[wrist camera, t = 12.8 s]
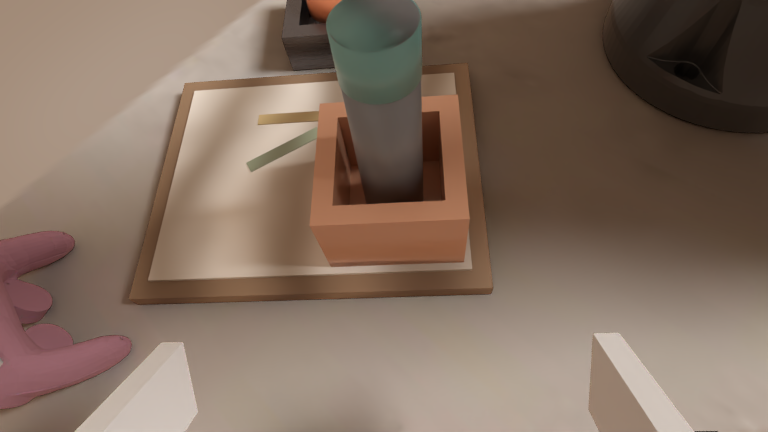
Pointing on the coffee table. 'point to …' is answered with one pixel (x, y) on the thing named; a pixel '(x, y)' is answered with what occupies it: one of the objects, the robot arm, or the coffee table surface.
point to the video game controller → (42, 327)
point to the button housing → (305, 38)
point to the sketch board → (278, 201)
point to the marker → (382, 93)
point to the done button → (321, 9)
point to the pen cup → (391, 220)
